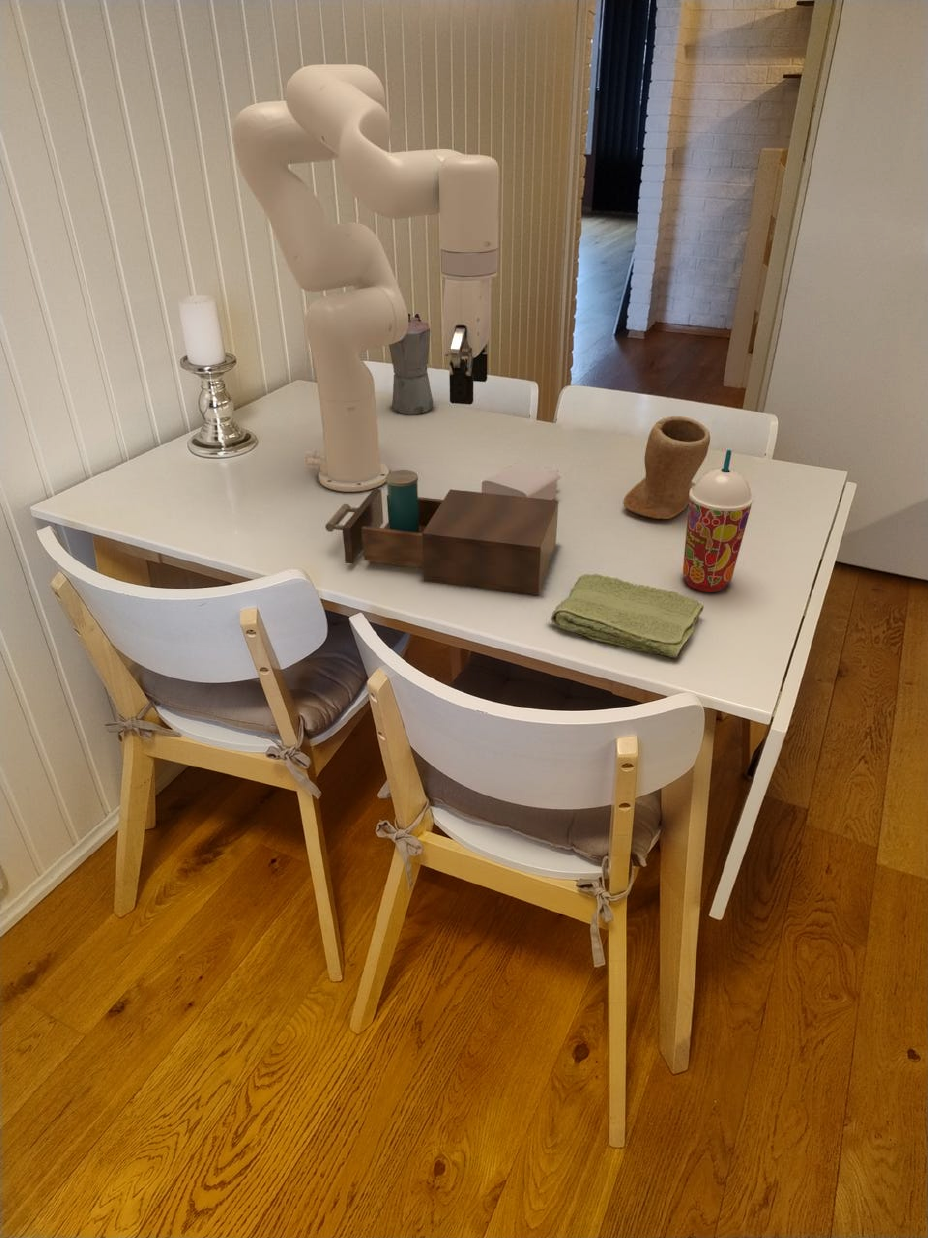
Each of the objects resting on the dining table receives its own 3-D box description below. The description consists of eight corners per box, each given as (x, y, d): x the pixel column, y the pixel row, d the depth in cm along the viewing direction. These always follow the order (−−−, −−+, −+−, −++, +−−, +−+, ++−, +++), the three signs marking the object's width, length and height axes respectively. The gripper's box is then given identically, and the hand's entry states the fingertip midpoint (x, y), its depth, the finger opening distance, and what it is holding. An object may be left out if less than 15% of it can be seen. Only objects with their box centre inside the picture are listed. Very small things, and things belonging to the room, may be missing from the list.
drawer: (318, 559, 124) (314, 524, 121) (351, 519, 135) (348, 485, 132) (447, 576, 120) (446, 539, 117) (470, 532, 131) (470, 498, 128)
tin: (385, 545, 125) (381, 480, 119) (395, 531, 129) (391, 468, 123) (415, 549, 124) (412, 484, 118) (424, 535, 128) (421, 471, 122)
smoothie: (668, 569, 123) (687, 439, 112) (724, 566, 124) (748, 437, 113) (686, 599, 116) (708, 464, 105) (744, 596, 117) (772, 462, 106)
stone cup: (681, 532, 133) (695, 442, 124) (613, 513, 138) (622, 426, 130) (716, 497, 143) (731, 413, 135) (651, 481, 149) (662, 399, 140)
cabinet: (423, 580, 121) (421, 532, 116) (450, 534, 133) (450, 489, 128) (538, 595, 117) (540, 546, 113) (555, 546, 129) (558, 500, 125)
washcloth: (679, 666, 103) (683, 644, 102) (546, 630, 110) (547, 609, 108) (704, 613, 113) (708, 593, 111) (580, 583, 120) (582, 564, 118)
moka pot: (382, 418, 176) (376, 320, 165) (399, 394, 189) (394, 301, 178) (426, 420, 175) (423, 322, 164) (440, 396, 187) (438, 303, 176)
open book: (575, 488, 146) (526, 519, 137) (531, 475, 151) (481, 504, 142) (577, 463, 144) (527, 493, 134) (532, 450, 149) (481, 478, 139)
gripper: (455, 249, 117) (457, 371, 127) (424, 275, 103) (428, 410, 113) (508, 251, 116) (505, 374, 125) (483, 278, 102) (482, 414, 111)
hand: (469, 391), depth 119 cm, fingers open, 9 cm apart
